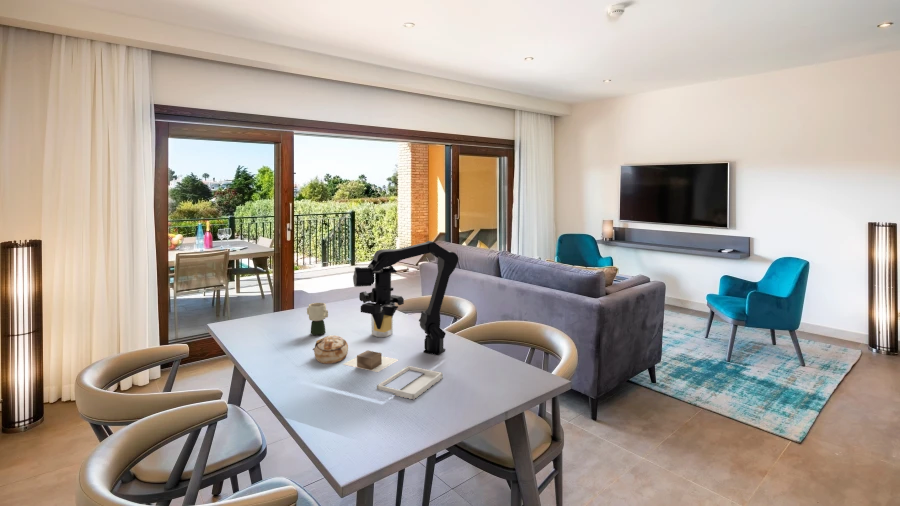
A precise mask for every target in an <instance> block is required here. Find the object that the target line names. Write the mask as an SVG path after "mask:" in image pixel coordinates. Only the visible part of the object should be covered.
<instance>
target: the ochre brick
mask: <svg viewBox="0 0 900 506" xmlns="http://www.w3.org/2000/svg"><path fill="white" fill-rule="evenodd" d="M391 325H392V316H388V315H384V317H383V321H382V325H381V328H380V329H377V326H376V324H375V321H374V331H379V332H387V331H389V330H391Z"/></svg>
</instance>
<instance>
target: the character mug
mask: <svg viewBox="0 0 900 506" xmlns="http://www.w3.org/2000/svg"><path fill="white" fill-rule="evenodd" d="M306 314H307V315H308V319H309V321H311V323H310V334H311V335H313V336H318V335H320V334H321V335H322V334H326V325H325V319H326V318H328V317H329V310H328V309H327V304H326V303H324V302H313V303H309V304H308V306H307V308H306Z"/></svg>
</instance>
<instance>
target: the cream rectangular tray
mask: <svg viewBox="0 0 900 506" xmlns="http://www.w3.org/2000/svg"><path fill="white" fill-rule="evenodd" d="M408 371H414V372H419V373H422V374H420V375H419V376H417V377H416V378H415V379H414V380H412V381H410V382H408V383H407V384H406V385H405V386H403V387H402V388H400V389H398V388H397V389H396V388H392V387H388V386H385V385H387V384H389V383H390V382H392V381H394V379H397V378H398V377H400V376H401V375H403V374H405V373H406V372H408ZM440 379H441V380H442V379H443V372H441V371H435V370H431V369H426V368H421V367H416V366H411V365H407V366H406V367H404V368H403V369H401V370H399V371H398V372H396V373H395V374H393V375H391V376H389V377H388V378H386V379H385V380H383V381H381V382H380V383H379V384H376V389H377V390H380V391H384V392H389V393H393V394H392V396H395V395H396V396H395V397H399V396H400V398H403V397H404V398H405V399H407V398H409V399H408V400H411V399H413V400H412V401H414V399H415V398H416V399H417V398H419V397H420V396H422V395H423V394H424V393H426V391H428V390H429V389H431V388H432V387H433V386H434V385H436V384H437V383H438V382H440V381H441V380H440ZM436 382H437V383H436ZM435 383H436V384H435ZM432 385H433V386H432ZM431 386H432V387H431ZM427 389H428V390H427ZM423 392H424V393H423ZM419 395H420V396H419ZM418 396H419V397H418ZM416 399H415V400H416Z"/></svg>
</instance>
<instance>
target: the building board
mask: <svg viewBox="0 0 900 506" xmlns="http://www.w3.org/2000/svg"><path fill="white" fill-rule="evenodd" d="M398 361H399V359H397V358H392V357H387V356H383V355H382V364H381V365H379V366H378V367H376V368H374V369H372V370H369V369H365V368H360V367H357V356H356V357H354V358H352V359H350V360H348V361H346V362H344V363H342V365H343V366H349V367H354V368H358V369H362V370H366V371H370V372H375V373H379V372H381V371H383V370H384V369H386V368H388V367H389V366H391V365H393V364H394V363H396V362H398Z"/></svg>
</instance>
